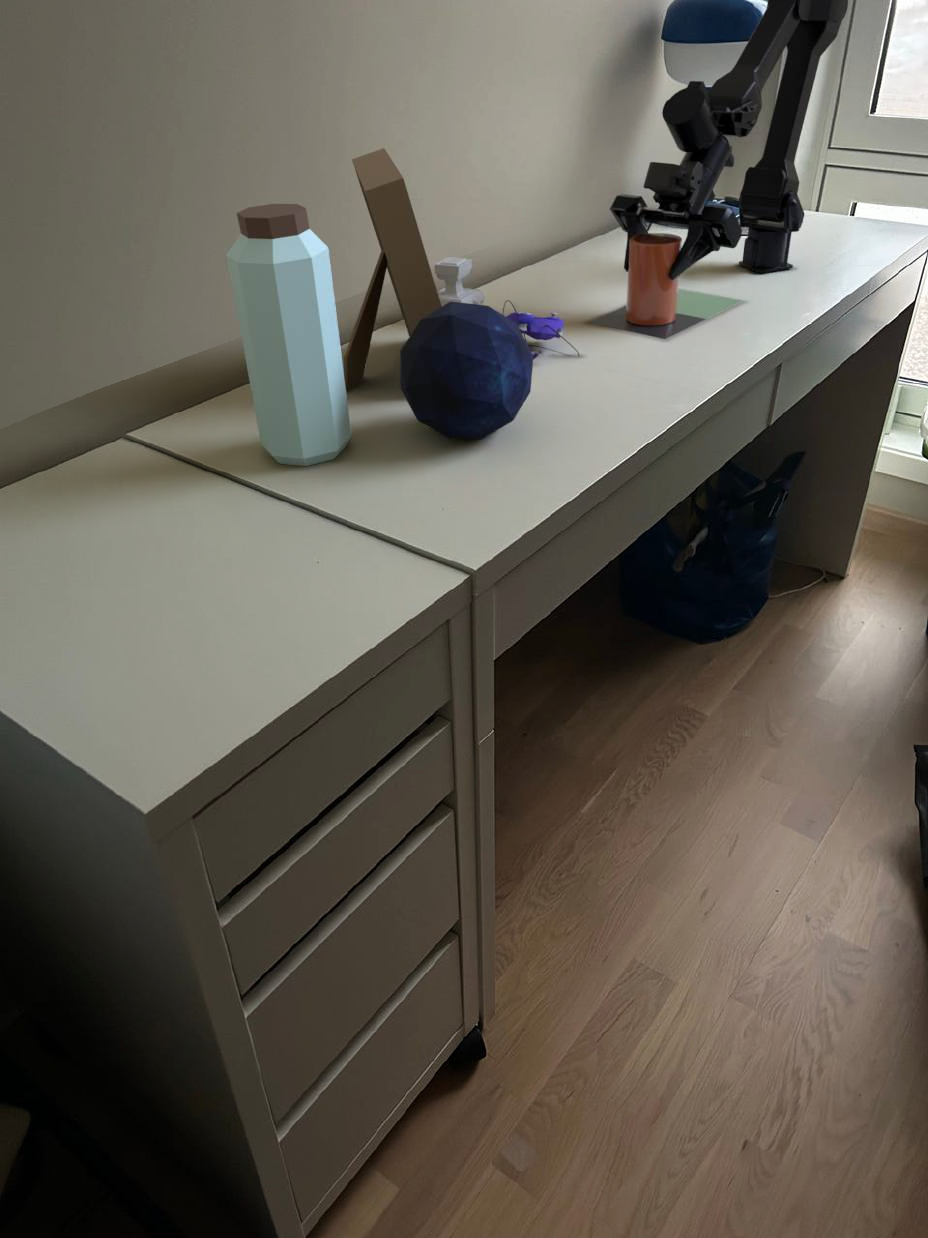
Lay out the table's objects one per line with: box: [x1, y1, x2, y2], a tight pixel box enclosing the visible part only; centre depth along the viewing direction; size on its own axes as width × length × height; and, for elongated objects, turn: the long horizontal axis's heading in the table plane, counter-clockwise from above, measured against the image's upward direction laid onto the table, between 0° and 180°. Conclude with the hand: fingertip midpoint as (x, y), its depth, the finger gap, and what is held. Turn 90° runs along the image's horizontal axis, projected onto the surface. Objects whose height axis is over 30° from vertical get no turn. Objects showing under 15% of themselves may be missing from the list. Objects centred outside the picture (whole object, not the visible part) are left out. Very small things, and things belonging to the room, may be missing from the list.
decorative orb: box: [399, 302, 534, 441], centre depth 103 cm, size 14×15×15 cm
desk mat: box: [588, 288, 743, 340], centre depth 139 cm, size 21×13×1 cm, turn 137°
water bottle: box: [226, 203, 352, 467], centre depth 98 cm, size 10×10×25 cm
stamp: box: [434, 256, 486, 306], centre depth 139 cm, size 9×7×8 cm
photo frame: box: [343, 147, 442, 391], centre depth 118 cm, size 15×22×25 cm
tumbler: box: [625, 232, 683, 326], centre depth 133 cm, size 7×7×11 cm
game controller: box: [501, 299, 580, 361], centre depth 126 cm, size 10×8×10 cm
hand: (647, 273), depth 132 cm, fingers closed on tumbler, 7 cm apart
